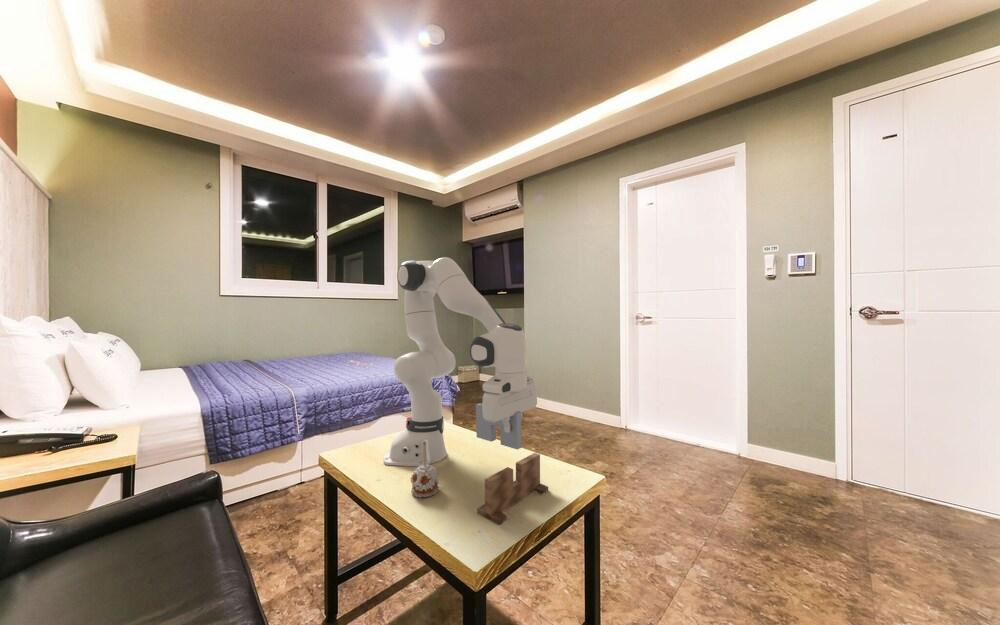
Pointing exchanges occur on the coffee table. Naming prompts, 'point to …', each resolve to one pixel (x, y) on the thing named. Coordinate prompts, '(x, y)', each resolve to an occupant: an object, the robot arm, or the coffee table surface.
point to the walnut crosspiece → (511, 488)
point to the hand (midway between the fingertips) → (512, 430)
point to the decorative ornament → (425, 479)
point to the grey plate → (489, 429)
